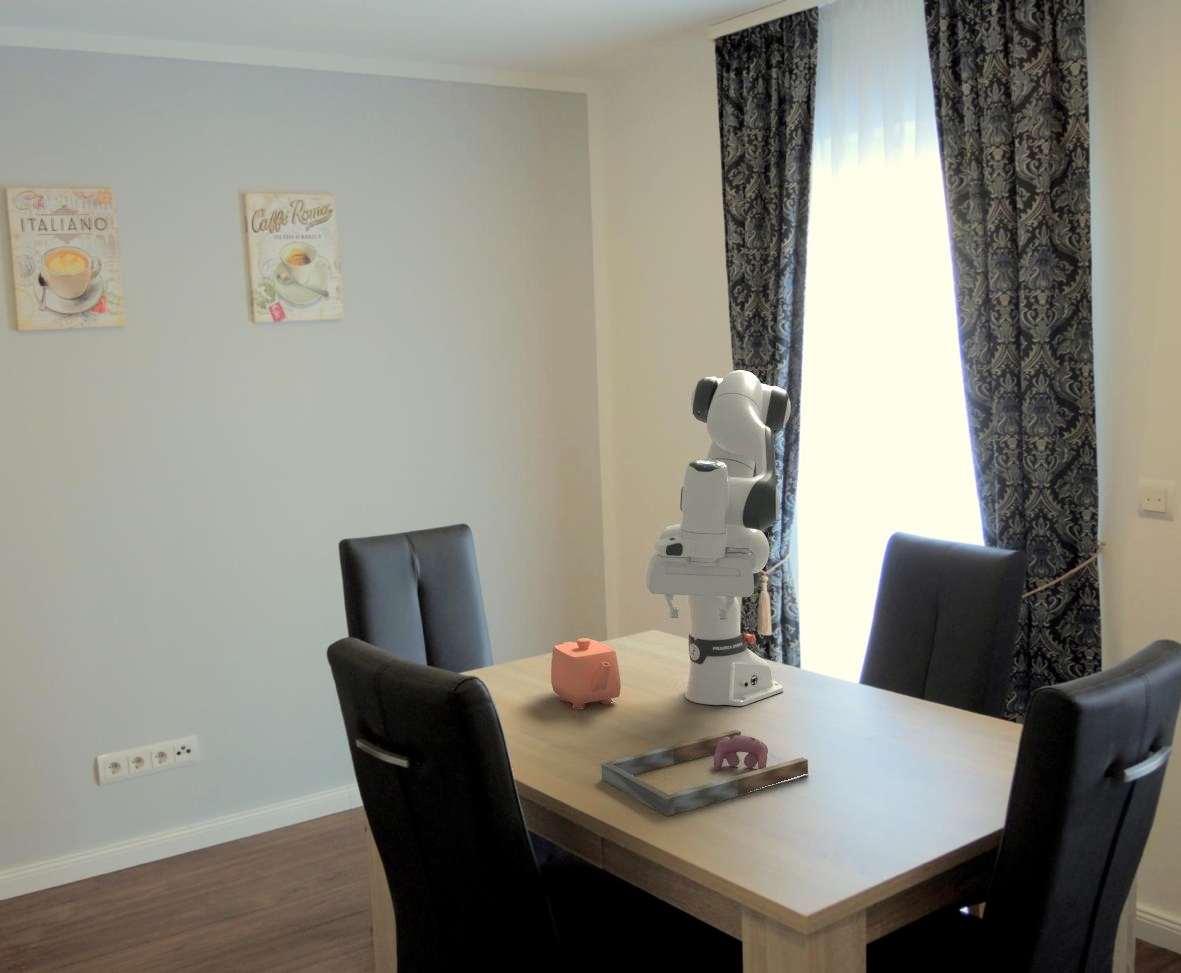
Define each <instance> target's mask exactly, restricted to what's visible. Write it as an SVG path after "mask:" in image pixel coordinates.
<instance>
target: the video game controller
mask: <svg viewBox="0 0 1181 973" xmlns="http://www.w3.org/2000/svg"><path fill="white" fill-rule="evenodd" d="M738 753H746V755H745V756H744V759H743V764H744V766H745V767H746V768H747V769H748V768H749V769H753V768H752V767H754V768H755V767H756V766H757V770H759V769H762V768H766V767H767V762H768V753H769V748H768V746H767V745H766V744H765V743H764V742H763V741H761V740H760V739H758V738H756V737H752V736H749V735H741V736H731V737H725V738H723V739H722V740H721V741H720V742H719V743H718V745H717V748H716V751H715V753H714V755H713V756H714V757H713V770H714V771H715V772H719V770H720V769H721V767H722V765H723V763H724V761H725V760H726V762H727V764H728V765H729V766H731V767H733V766H735V767H738V766H739V764H740V762H741V759H740V756H739V754H738Z"/></svg>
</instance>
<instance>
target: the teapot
mask: <svg viewBox="0 0 1181 973" xmlns="http://www.w3.org/2000/svg"><path fill="white" fill-rule="evenodd" d="M620 675H621V674H620V669H619V662H618V657H617V652H616V651H615V650H614V649H613V648H612V647H610V646H609V645H606V644H604V643H602V642H600V641H599V640H596V639H591V638H587V637H586V638H583V637H582V638H578V639H576V641H574V642H573V641H567V642H566V641H564V642H561V644H556V645H553V647H552V656H551V666H550V678H551V679H550V681H551V682H550V683H551V686H552V691H553V692H554V693H555V694H556V695H558V696H559V697H560V698H559V701H560V700H562V701H561V702H569V703H571V704H572V707H571V708H572V709H573V708H575V709H574V710H582V709H581V708H583V709H585V708H586V704H588V703H595V702H599V703H600V704H601V703H602V705H610V703H611V702H613V703H614V701H613V700H612V699H615V698H619V697H620V693H621V676H620ZM611 704H612V703H611ZM584 707H585V708H584Z"/></svg>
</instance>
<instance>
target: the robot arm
mask: <svg viewBox="0 0 1181 973" xmlns="http://www.w3.org/2000/svg"><path fill="white" fill-rule="evenodd" d="M690 396H691V398H690V406H691V410H692V415H693V416H694V418H695V419H696V420H698V422H699V421H700V422H702V423H704V424H706V430H707V432H708V435H709V436H710V438H711V440H712V441H711V443H710V447H709V450H708V454H707V456H706V458H703V459H696V460H693V461H691V462H689V463H687V465H686V466H687V467H686V470H685V475H684V480H683V484H682V485H683V486H682V487H681V489H680V505H679V508H680V511H681V512H682V518H681V519H682V520H681V523H678V524H677V523H676V524H672V525H668V526H667V527H666V528H664V529H663V531H662V532H661V534H660V536H659V538H658V540H657V541H656V542H655V543H654V550H655V552H656V553H655V554H653V556H652V557H651V558H650V562H649V565H648V569H647V574H646V582H645V584H646V589H647V590H648V591H649V592H650V594H652V595H663V596H664V597H663V598H664V600H665V602H666V604H667V607H668V608H669V609H668V617H669V618H670V619H679V608H678V607H674V606H673V603H672V602H671V601H673V600H674V595H675V596H679V595H680V596H681V595H682V596H686V600H687V605H688V612H689V614H688V615H689V616H688V617H689V632H690V633H689V634H688V655H689V658H690V661H689V672H688V680H687V686H686V690H685V693H684V696H685V699H687V700H689V701H690V702H693V703H698V704H703V705H712V706H713V705H714V706H723V705H724V706H725V705H727V706H736V707H742V706H746V705H749V704H751V703H754V702H757V701H760V700H763V699H766V698H769V697H771V696H774V695H777V694H780V693H782V692H784V687H783V685H782V684H780V683H779V682H777V681H776V680H774V679H773V675H772V670H771V666H770V665H769V663H768V662H767V661H766V660H764V659H763V658H762V657H760V656H759V655H757V654H756V653H754V652H753V651H752V650H751V649H750V648H748V646H747V643H749V644H751V645H752V644H754V643H755V642H756V636H755V635H754V634H750V633H746V634H745V633H743V632H741V619H740V618H741V617H740V603H739V600H738V598H750V597H751V596H752V595H753V594H754V589H755V582H754V579H755V578H754V574H757V573H760V572H761V571H763V569H764V567H765V566H766V565H767V563H768V561H769V557H770V544H769V541H768V537H766V535H765V533H763V531H764V530H766V529H767V528H770V527H771V526H772V525H773V524H775V523H776V522H777V520H778V517H779V514H780V511H781V497H780V496H781V495H780V493H779V489H778V485H777V468H776V467H777V466H776V451H775V441H774V436H775V435H777V434H778V433H780V432H781V431H783V429H784V427H785V426H786V424H787V422H788V421H789V419H790V415H791V411H792V408H791V407H792V406H791V405H792V404H791V401H790V395H789V393H788V392H787V390H785V389H783V388H780V387H779V386H776V385H773V386H770V385H768V384H764V383H761V381H760V379H759V378H758V377H757V376H756V375H754V374H753V373H752V372H750V371H746V370H735V371H731V372H729V373H727V374H726V375H725V376H724V377H723V378H717V376H705V377H703V378H701V379H700V380H698V381H697V384H696V385H695V387H694V389H693V391H692V394H691V395H690ZM754 473H755V476H754Z"/></svg>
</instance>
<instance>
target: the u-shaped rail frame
mask: <svg viewBox="0 0 1181 973" xmlns="http://www.w3.org/2000/svg"><path fill="white" fill-rule="evenodd" d="M741 733H742V732H741V731H740V730H738V729H733V730H729V731H724V732H720V733H718V734H713V735H708V736H705V737H701V738H697V739H693V740H689V741H685V742H682V743H678V744H677V743H676V744H673V745H669V746H665V747H661V748H658V749H654V750H649V751H646V752H641V753H637V754H635V755H634V754H633V755H630V756H626V757H623V758H618V759H613V760H610V761H605V762H603V763H601V765H600V766H601V780H603V781H604V782H606V783H608V784H609V785H610V786H613V787H614V788H616V789H618V790H620V791H621V792H623V793H625V794H626V795H628V796H630V797H632V798H634V799H636V800H637V801H639V802H641V803H642V804H644V805H647V806H648V807H650V808H652V809H653V810H654V811H656V812H658V813H660V814H662V815H664V816H666V817H671V816H674V815H677V814H682V813H685V812H688V811H690V810H691V811H692V810H694V809H699V808H702V807H706V806H708V805H712V804H716V803H719V802H723V801H726V800H729V799H733V798H735V797H734V796H736V797H739V796H738V795H740V796H742V795H741V794H743V795H746V794H745V793H747V794H749V793H748V792H750V791H754V790H756V789H760V788H762V787H765V786H768V785H772V784H776V783H778V782H781V781H784V780H788V779H791V778H794V777H797V776H801V775H803V774H808V775H809V759H807V758H806V757H799V758H794V759H792V760H788V761H785V762H781V763H777V764H774V765H771V766H766V768H762V769H759V770H758V769H756V770H752V771H748V772H744V773H742V774H738V775H734V776H730V777H728V778H727V777H726V778H724V779H723V778H722V779H720V780H716V781H713V782H709V783H706V784H701V785H699V786H695V787H694V786H693V787H691V788H687V789H684V790H681V791H676V792H674V793H669V794H668V793H667V792H665V791H663V790H661V789H659V788H658V787H656V786H654V785H653V784H651V783H649V782H646V781H645V780H642V779H640V778H639V777H637V776H635V775H637V774H641V773H645V771H646V772H649V771H652V770H656V769H661V768H664V767H668V766H672V765H677V764H679V763H683V762H686V761H687V762H688V761H691V760H693V759H698V758H702V757H706V756H710V755H713V754H712V753H714V754H715V751H716V748H717V745H718V743H719V742H720V741H721V740H722V739H723V738H725V737H731V736H742V734H741ZM709 754H710V755H709ZM701 756H702V757H701ZM690 759H691V760H690ZM760 790H761V789H760ZM754 792H755V791H754ZM750 793H751V792H750ZM732 797H733V798H732ZM728 798H729V799H728Z"/></svg>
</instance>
